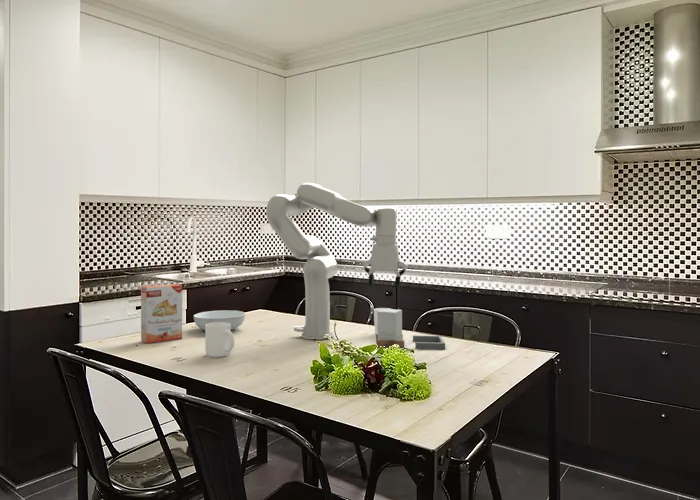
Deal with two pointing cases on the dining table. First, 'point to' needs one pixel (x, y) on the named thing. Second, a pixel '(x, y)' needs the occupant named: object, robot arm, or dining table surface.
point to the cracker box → (161, 313)
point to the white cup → (377, 318)
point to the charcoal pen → (429, 345)
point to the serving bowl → (219, 318)
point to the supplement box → (389, 324)
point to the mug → (218, 339)
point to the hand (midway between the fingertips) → (384, 286)
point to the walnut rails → (389, 342)
